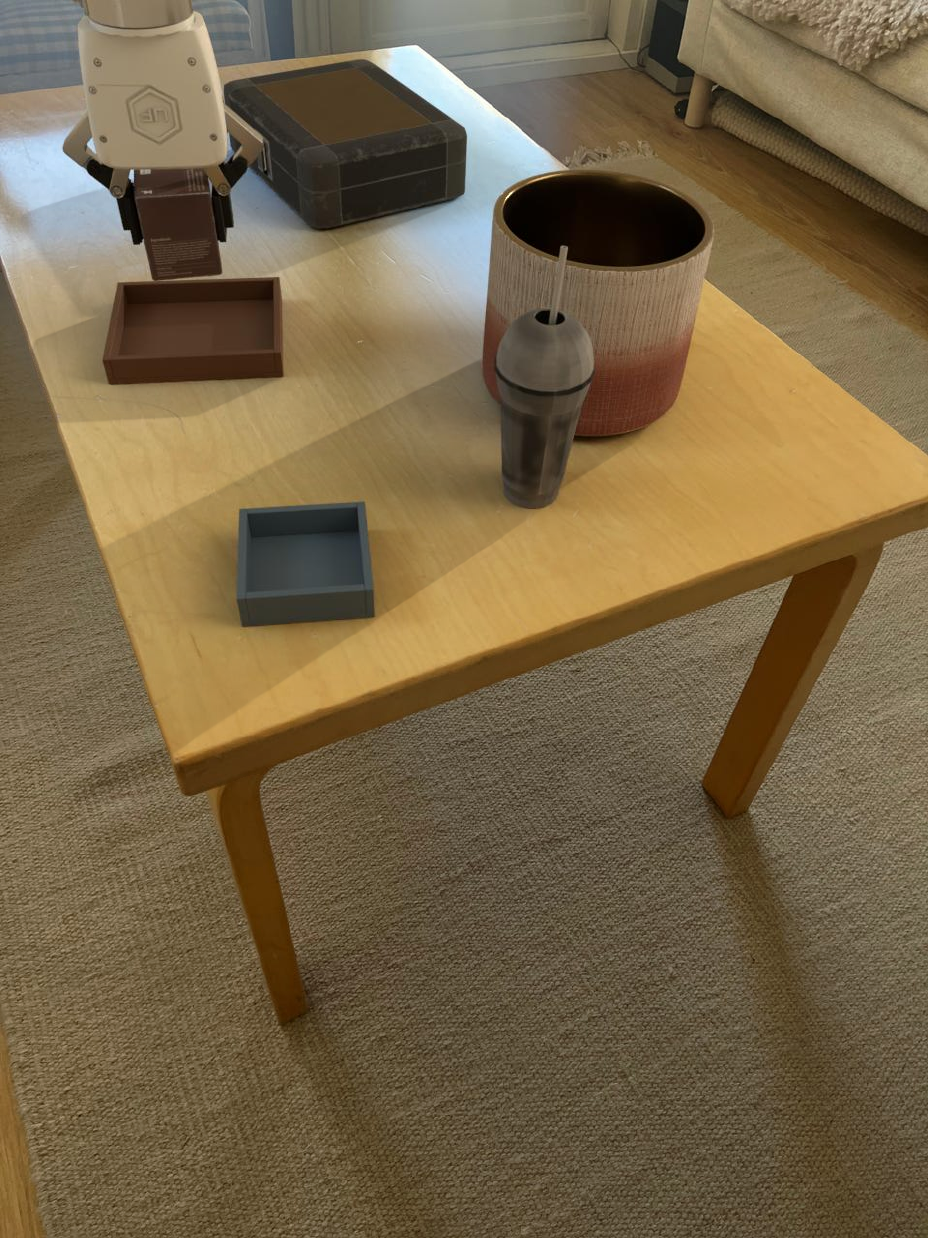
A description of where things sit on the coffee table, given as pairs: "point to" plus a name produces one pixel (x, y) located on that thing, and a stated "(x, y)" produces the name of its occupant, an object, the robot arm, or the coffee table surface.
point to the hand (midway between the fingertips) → (180, 234)
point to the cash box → (349, 142)
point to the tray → (195, 330)
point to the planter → (604, 282)
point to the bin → (304, 564)
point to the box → (177, 223)
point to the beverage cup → (541, 397)
